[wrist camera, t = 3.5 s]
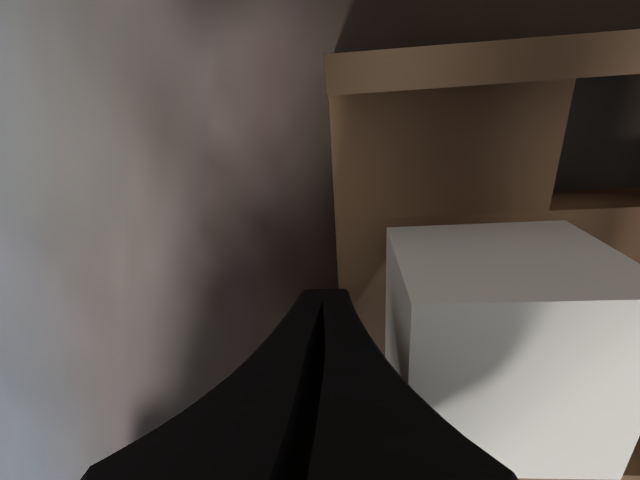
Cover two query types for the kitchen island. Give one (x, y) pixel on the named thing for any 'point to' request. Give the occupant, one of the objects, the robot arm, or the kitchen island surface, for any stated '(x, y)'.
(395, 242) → the block
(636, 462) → the rimmed wooden board
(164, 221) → the kitchen island surface
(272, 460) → the robot arm
